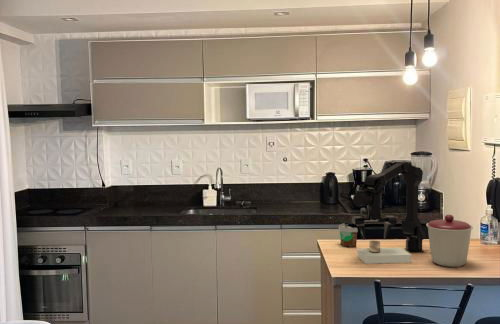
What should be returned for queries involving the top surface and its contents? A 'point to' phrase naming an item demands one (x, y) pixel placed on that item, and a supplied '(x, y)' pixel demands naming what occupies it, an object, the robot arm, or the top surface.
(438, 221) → the canister
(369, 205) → the robot arm
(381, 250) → the board
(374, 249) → the peg
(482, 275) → the top surface
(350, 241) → the food container
